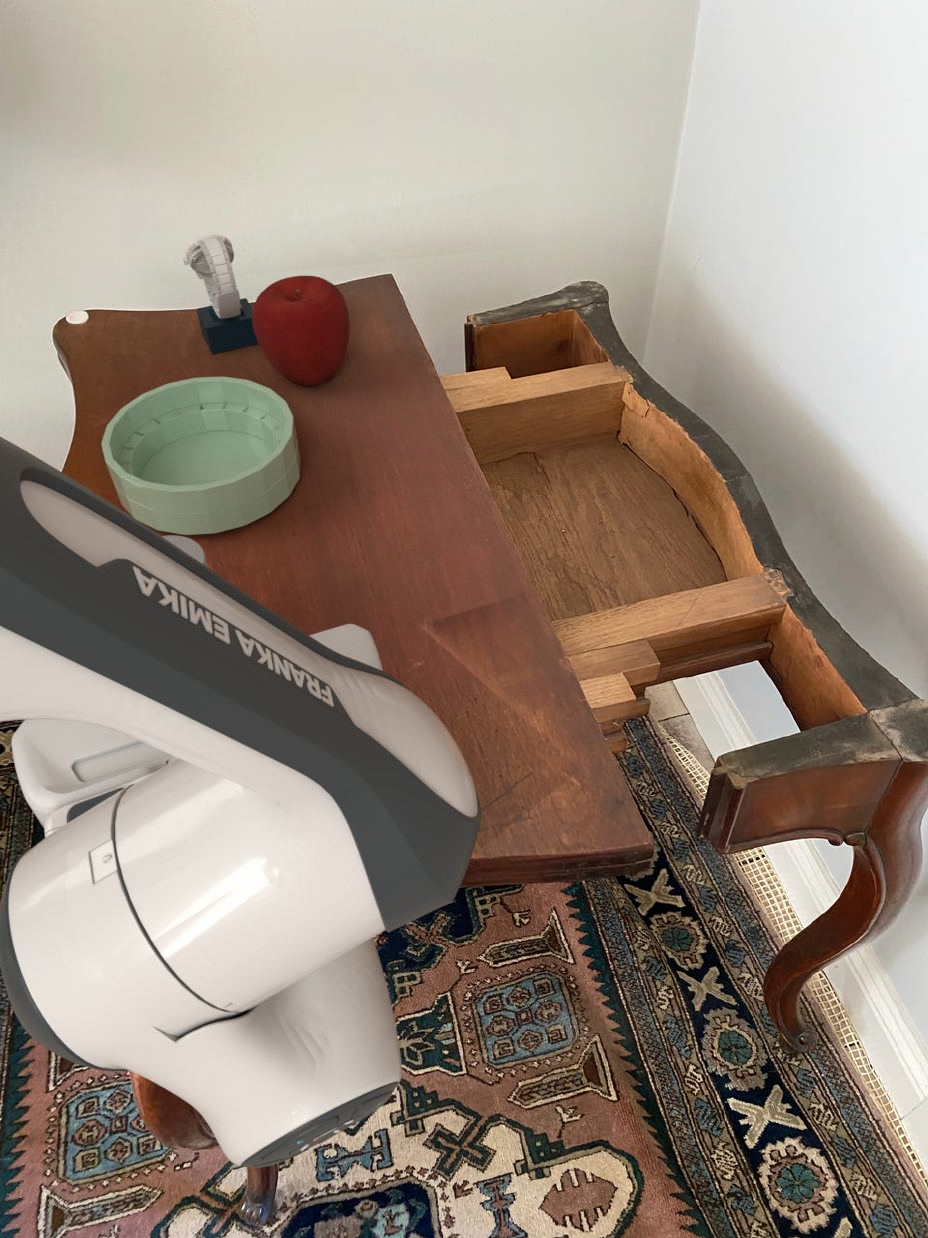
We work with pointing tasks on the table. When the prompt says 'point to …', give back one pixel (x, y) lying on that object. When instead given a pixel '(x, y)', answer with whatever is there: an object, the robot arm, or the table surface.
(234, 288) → the watch
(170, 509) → the bowl
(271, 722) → the robot arm
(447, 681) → the table surface
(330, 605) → the table surface
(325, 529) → the table surface
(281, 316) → the apple
